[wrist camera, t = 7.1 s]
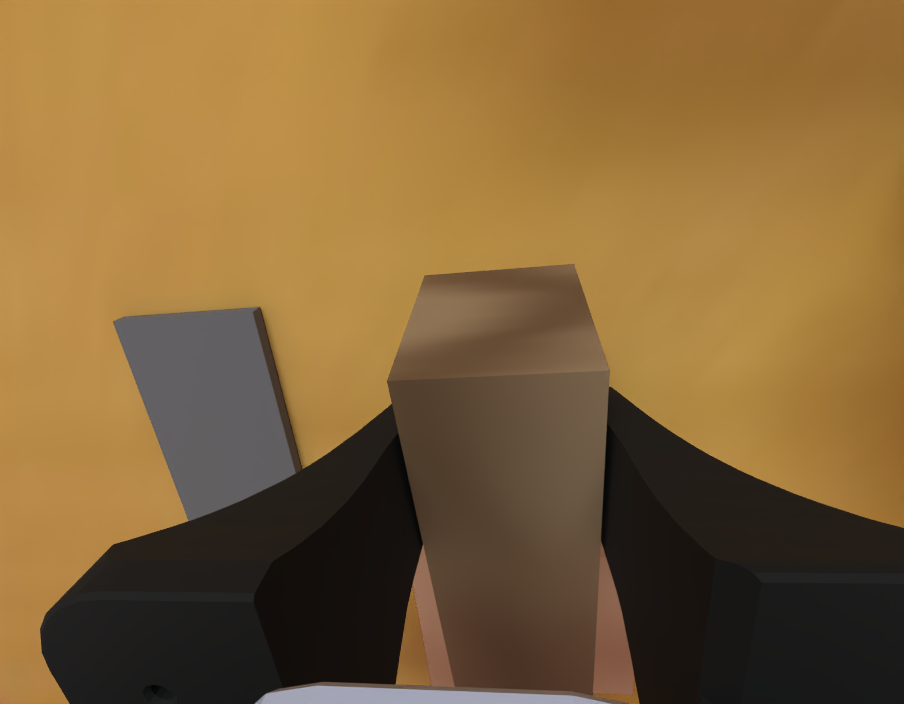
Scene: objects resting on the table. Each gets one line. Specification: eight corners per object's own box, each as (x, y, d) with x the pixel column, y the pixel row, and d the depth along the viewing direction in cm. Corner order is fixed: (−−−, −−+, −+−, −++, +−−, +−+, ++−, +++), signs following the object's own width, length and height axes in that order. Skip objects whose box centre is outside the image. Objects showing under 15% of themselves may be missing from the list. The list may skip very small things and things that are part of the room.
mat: (259, 307, 16) (252, 312, 16) (335, 597, 21) (331, 607, 21) (123, 316, 17) (113, 321, 17) (226, 595, 22) (220, 605, 21)
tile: (638, 557, 17) (632, 694, 19) (626, 516, 19) (622, 647, 21) (407, 557, 18) (431, 687, 20) (417, 519, 20) (438, 642, 22)
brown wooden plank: (573, 263, 11) (609, 370, 8) (571, 586, 17) (590, 736, 14) (424, 275, 12) (386, 380, 8) (472, 585, 18) (464, 730, 14)
